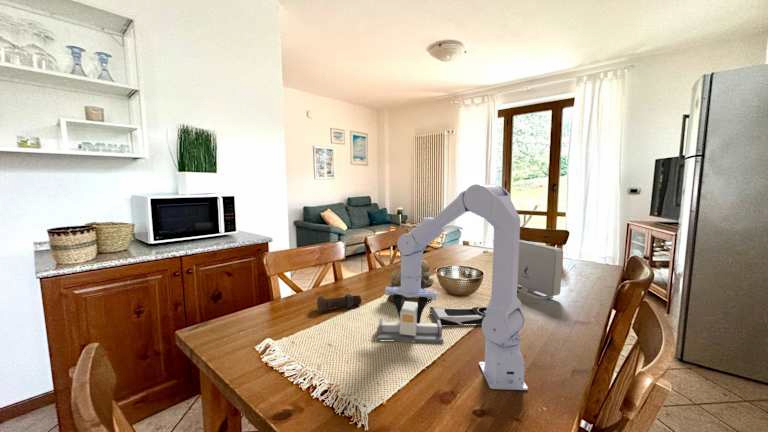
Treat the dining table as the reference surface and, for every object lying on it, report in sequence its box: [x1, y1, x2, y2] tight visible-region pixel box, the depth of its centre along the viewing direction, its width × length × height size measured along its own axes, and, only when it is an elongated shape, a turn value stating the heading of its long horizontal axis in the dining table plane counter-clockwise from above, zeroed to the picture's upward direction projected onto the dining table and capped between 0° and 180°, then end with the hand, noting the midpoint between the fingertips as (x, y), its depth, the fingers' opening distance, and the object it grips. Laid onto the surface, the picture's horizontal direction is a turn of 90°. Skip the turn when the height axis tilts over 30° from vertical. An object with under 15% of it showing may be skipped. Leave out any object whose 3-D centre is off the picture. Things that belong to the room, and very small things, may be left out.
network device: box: [517, 239, 564, 300], centre depth 127 cm, size 26×9×20 cm, turn 25°
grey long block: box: [377, 317, 444, 343], centre depth 90 cm, size 9×18×4 cm, turn 88°
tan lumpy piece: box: [387, 259, 435, 305], centre depth 116 cm, size 18×12×17 cm, turn 106°
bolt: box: [316, 293, 363, 314], centre depth 108 cm, size 6×5×15 cm
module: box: [399, 301, 418, 336], centre depth 89 cm, size 8×4×6 cm, turn 166°
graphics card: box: [429, 306, 487, 326], centre depth 100 cm, size 10×3×25 cm
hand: (409, 320), depth 90 cm, fingers closed on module, 4 cm apart
